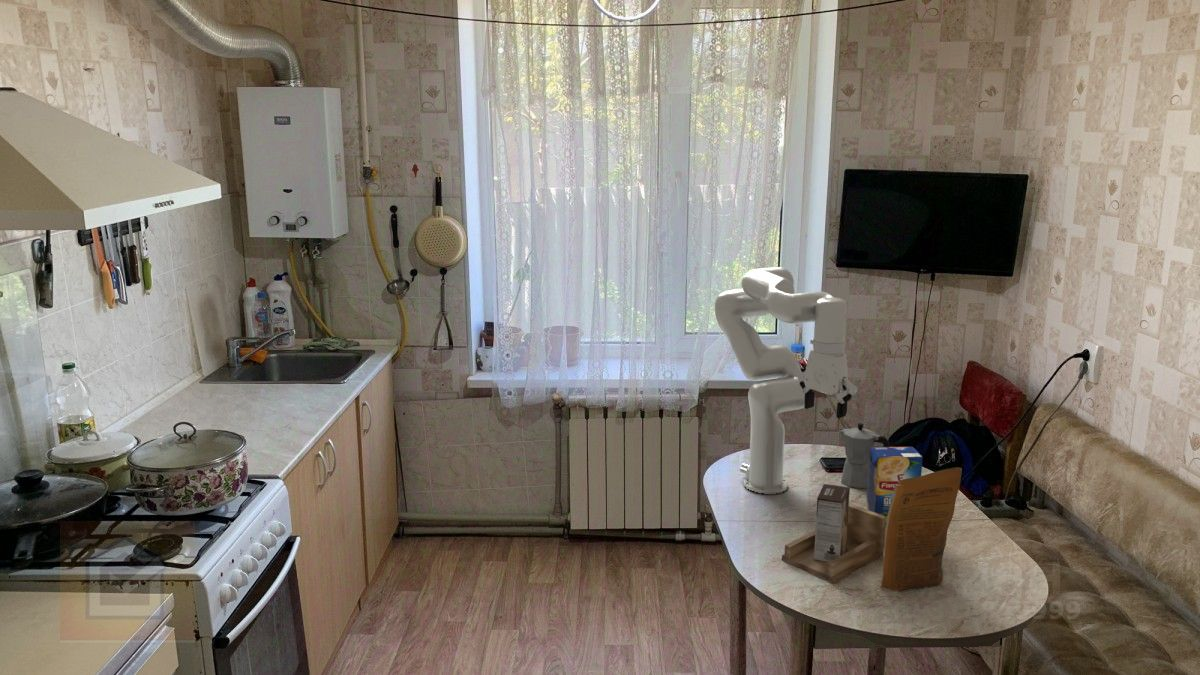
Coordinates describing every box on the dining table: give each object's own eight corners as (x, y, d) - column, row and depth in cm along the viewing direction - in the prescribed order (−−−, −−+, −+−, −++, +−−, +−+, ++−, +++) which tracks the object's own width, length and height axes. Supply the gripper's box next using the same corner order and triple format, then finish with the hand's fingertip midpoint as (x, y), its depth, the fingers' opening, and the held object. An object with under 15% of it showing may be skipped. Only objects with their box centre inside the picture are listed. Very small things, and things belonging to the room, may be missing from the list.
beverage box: (916, 538, 226) (923, 456, 220) (872, 539, 225) (878, 457, 220) (906, 526, 232) (913, 446, 227) (864, 527, 232) (869, 447, 227)
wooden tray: (781, 559, 215) (783, 520, 213) (830, 534, 228) (832, 497, 226) (834, 583, 204) (837, 542, 202) (883, 555, 217) (886, 516, 215)
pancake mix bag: (960, 586, 203) (972, 470, 196) (886, 598, 198) (896, 480, 191) (941, 572, 209) (952, 459, 202) (869, 583, 204) (878, 469, 197)
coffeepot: (828, 481, 261) (831, 423, 256) (841, 471, 268) (845, 414, 264) (879, 495, 251) (884, 434, 247) (892, 484, 259) (897, 425, 254)
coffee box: (820, 543, 221) (823, 482, 217) (846, 548, 218) (850, 486, 215) (813, 560, 213) (816, 497, 209) (840, 565, 210) (844, 501, 206)
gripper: (791, 343, 228) (788, 407, 232) (850, 356, 215) (845, 424, 219) (809, 338, 233) (805, 401, 237) (867, 351, 220) (862, 417, 224)
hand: (824, 412), depth 228 cm, fingers open, 9 cm apart
